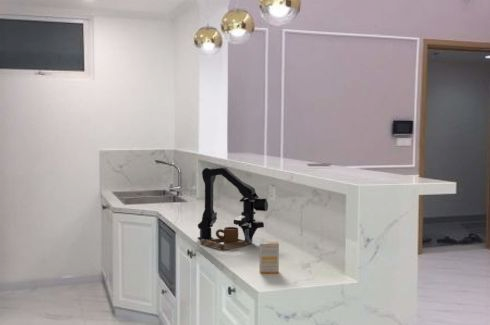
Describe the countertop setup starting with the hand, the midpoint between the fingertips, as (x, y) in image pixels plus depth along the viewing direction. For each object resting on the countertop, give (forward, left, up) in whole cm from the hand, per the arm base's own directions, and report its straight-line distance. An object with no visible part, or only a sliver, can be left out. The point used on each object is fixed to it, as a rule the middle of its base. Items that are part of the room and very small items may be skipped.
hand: (248, 238), depth 302 cm
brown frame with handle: (-4, -10, -2) cm, 11 cm away
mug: (-1, -14, -2) cm, 14 cm away
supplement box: (+49, -33, -2) cm, 59 cm away
